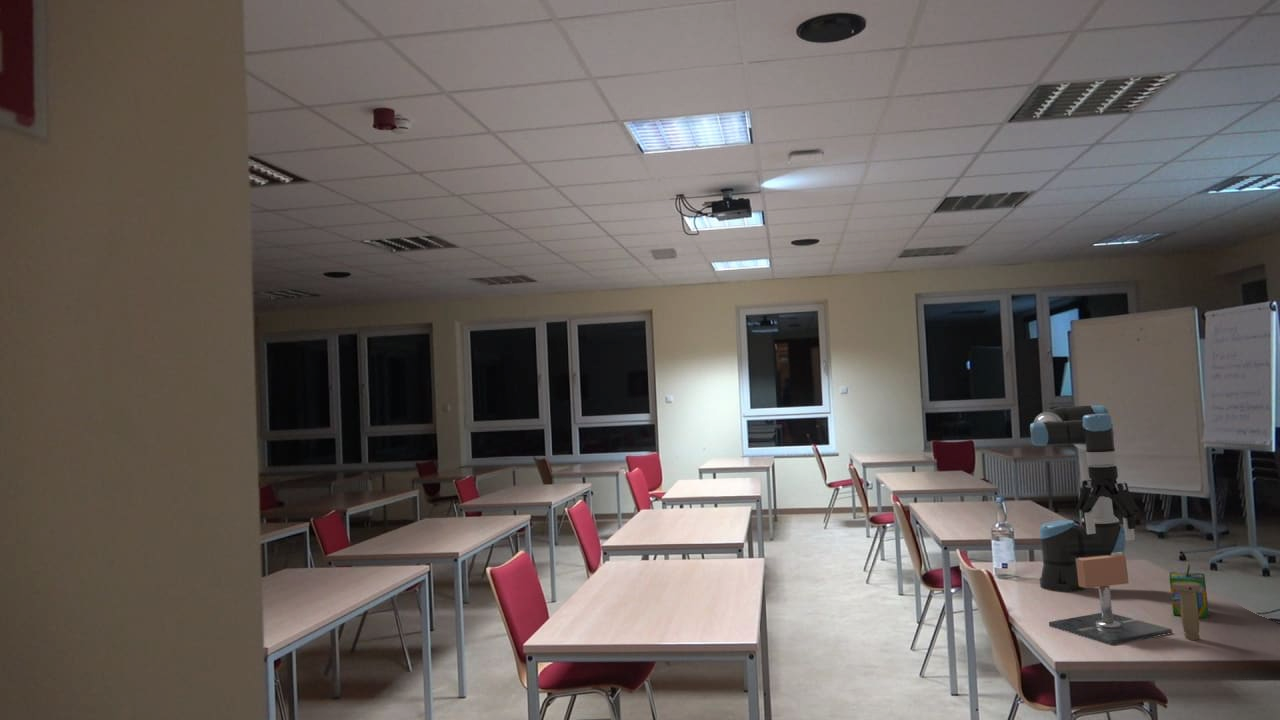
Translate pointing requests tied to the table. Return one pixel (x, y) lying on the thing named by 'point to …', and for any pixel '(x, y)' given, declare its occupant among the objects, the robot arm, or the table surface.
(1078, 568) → the pink plank with tab
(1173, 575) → the chalk box
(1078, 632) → the post stand
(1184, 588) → the handle
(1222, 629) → the table surface
